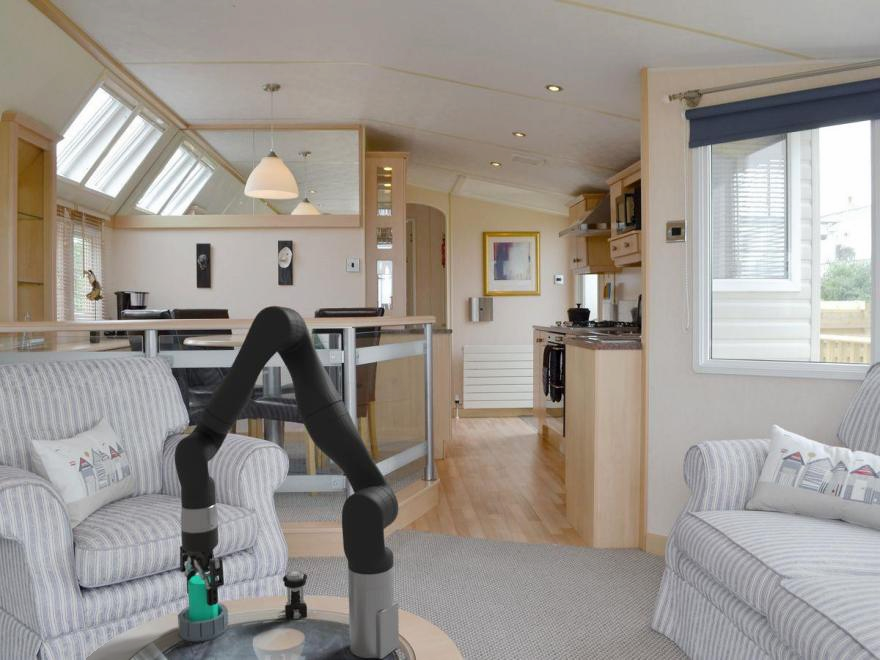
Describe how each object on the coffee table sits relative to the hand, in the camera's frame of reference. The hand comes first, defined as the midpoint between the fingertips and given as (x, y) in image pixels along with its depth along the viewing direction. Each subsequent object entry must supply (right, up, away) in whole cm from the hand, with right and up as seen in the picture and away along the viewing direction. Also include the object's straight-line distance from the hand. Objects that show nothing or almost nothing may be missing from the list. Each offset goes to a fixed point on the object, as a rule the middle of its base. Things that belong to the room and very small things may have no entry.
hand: (202, 598), depth 163 cm
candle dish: (0, -7, +1) cm, 7 cm away
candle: (0, -6, 0) cm, 6 cm away
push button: (+18, -7, +7) cm, 21 cm away
